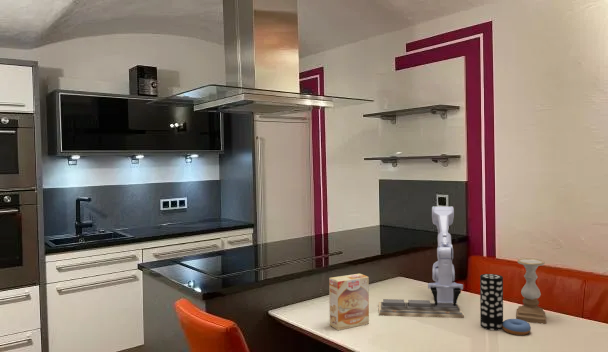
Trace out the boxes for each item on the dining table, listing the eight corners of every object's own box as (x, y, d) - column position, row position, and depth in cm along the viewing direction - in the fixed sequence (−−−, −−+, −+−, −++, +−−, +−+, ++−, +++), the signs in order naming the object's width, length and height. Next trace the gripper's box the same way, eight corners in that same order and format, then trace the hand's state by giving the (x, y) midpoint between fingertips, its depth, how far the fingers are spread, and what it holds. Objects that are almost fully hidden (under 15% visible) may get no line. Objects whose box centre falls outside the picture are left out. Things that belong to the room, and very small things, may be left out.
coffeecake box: (338, 330, 187) (337, 281, 187) (329, 325, 194) (328, 277, 193) (369, 324, 194) (369, 276, 193) (359, 319, 201) (359, 272, 200)
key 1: (403, 302, 213) (403, 299, 213) (404, 306, 208) (404, 303, 208) (383, 302, 214) (383, 299, 214) (383, 305, 209) (383, 302, 209)
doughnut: (529, 337, 177) (528, 324, 177) (500, 334, 182) (499, 321, 182) (532, 331, 185) (532, 319, 186) (504, 328, 191) (504, 316, 191)
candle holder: (545, 315, 201) (545, 259, 200) (546, 324, 191) (546, 264, 190) (516, 312, 206) (516, 257, 205) (515, 320, 196) (516, 262, 195)
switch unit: (457, 306, 214) (457, 301, 214) (464, 318, 200) (464, 311, 200) (378, 304, 219) (378, 299, 219) (379, 315, 205) (379, 309, 205)
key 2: (455, 306, 210) (455, 303, 210) (457, 310, 205) (457, 307, 205) (433, 306, 211) (433, 302, 211) (435, 309, 206) (435, 306, 206)
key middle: (429, 303, 211) (429, 300, 211) (430, 307, 206) (430, 303, 206) (408, 303, 213) (408, 299, 212) (409, 306, 208) (409, 303, 208)
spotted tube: (502, 324, 192) (502, 274, 191) (503, 331, 184) (503, 279, 183) (480, 322, 194) (480, 273, 194) (480, 329, 187) (480, 278, 186)
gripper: (429, 275, 204) (429, 307, 205) (464, 276, 202) (464, 308, 203) (427, 272, 211) (427, 302, 212) (461, 272, 209) (461, 303, 210)
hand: (445, 305), depth 208 cm, fingers open, 7 cm apart
